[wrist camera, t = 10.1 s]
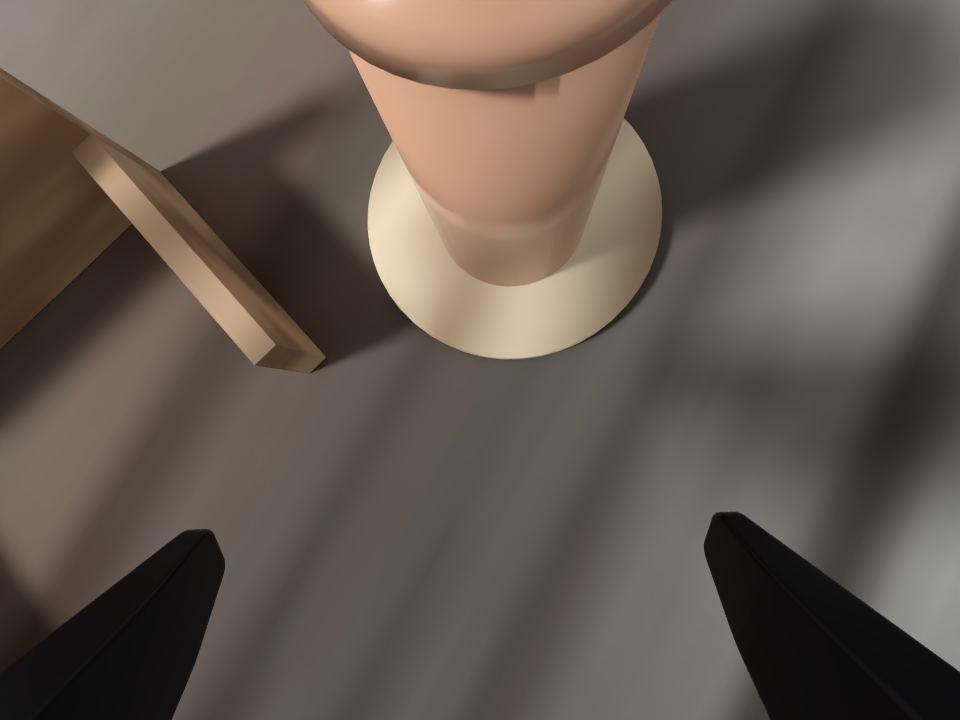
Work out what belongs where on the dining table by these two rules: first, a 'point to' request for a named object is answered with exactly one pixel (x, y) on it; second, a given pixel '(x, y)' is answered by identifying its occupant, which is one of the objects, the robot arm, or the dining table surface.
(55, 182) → the cold frame
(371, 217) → the cream flat disc
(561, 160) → the terracotta pot
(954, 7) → the dining table surface
